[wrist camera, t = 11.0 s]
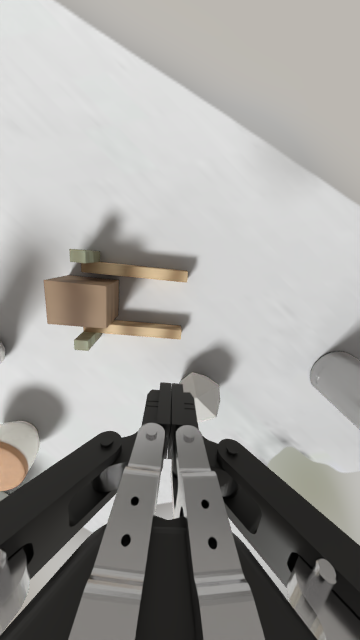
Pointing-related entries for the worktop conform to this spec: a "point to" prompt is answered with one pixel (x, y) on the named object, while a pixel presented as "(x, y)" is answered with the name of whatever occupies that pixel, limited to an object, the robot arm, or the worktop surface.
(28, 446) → the lidded jar
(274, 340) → the worktop surface
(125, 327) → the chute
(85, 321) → the block
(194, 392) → the die
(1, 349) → the plastic bottle
